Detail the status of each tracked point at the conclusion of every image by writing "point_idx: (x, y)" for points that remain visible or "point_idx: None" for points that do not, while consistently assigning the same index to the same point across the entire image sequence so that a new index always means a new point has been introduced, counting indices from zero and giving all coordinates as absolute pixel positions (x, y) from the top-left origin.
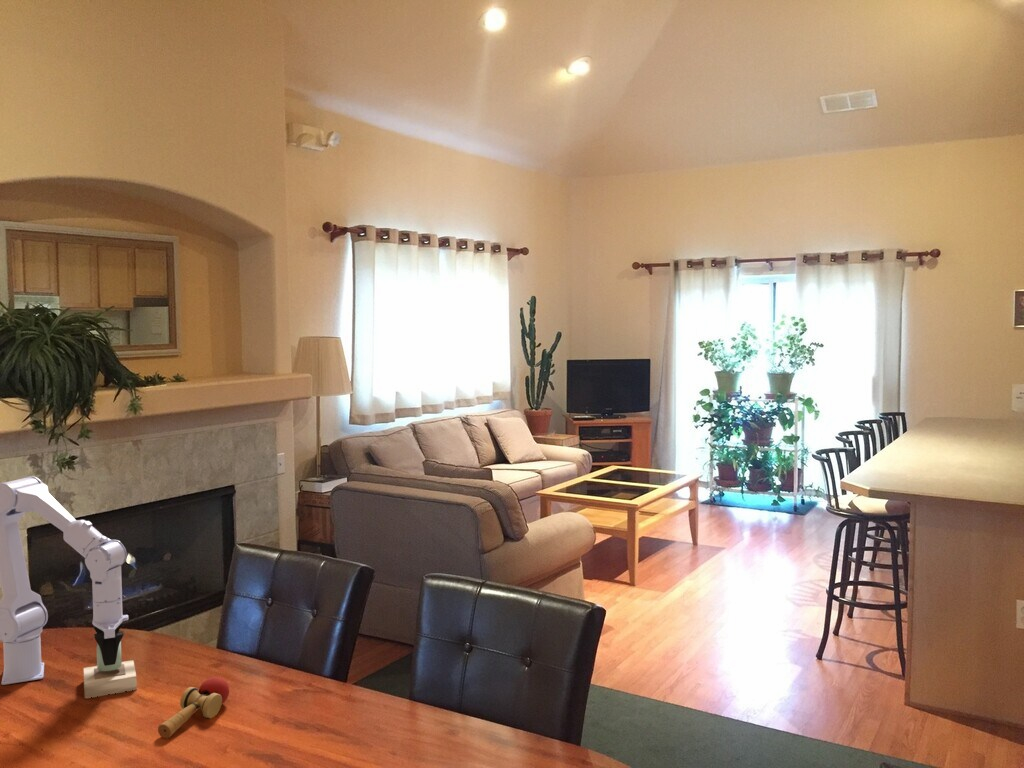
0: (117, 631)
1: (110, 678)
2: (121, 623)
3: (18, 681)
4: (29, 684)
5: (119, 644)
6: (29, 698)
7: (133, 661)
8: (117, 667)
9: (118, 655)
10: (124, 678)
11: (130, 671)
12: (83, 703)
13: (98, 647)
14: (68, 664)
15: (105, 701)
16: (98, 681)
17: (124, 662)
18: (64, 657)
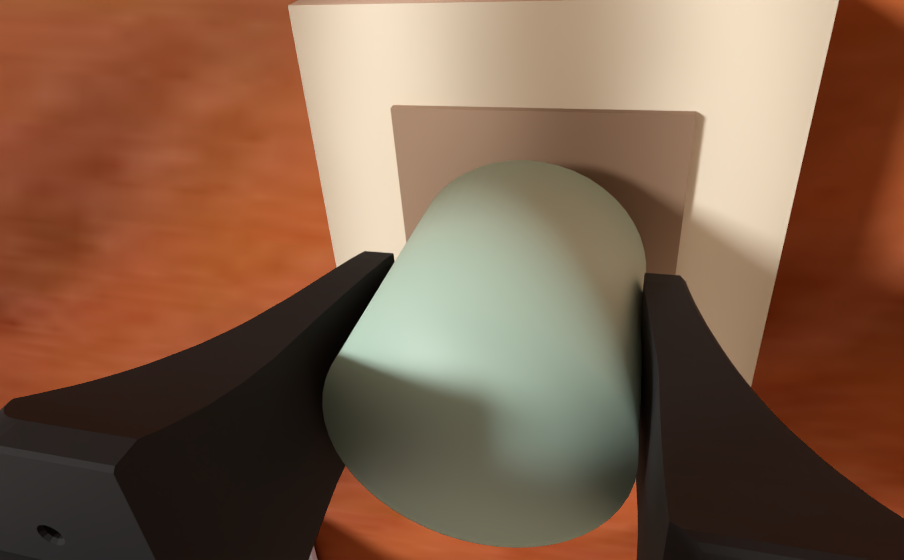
0: (233, 405)
1: (720, 251)
2: (131, 461)
3: (313, 554)
4: (343, 518)
5: (559, 344)
6: (538, 549)
7: (329, 5)
8: (620, 213)
9: (601, 272)
10: (806, 129)
11: (629, 55)
12: (818, 370)
13: (551, 544)
14: (103, 352)
15: (901, 243)
16: (734, 343)
17: (332, 96)
18: (5, 355)
